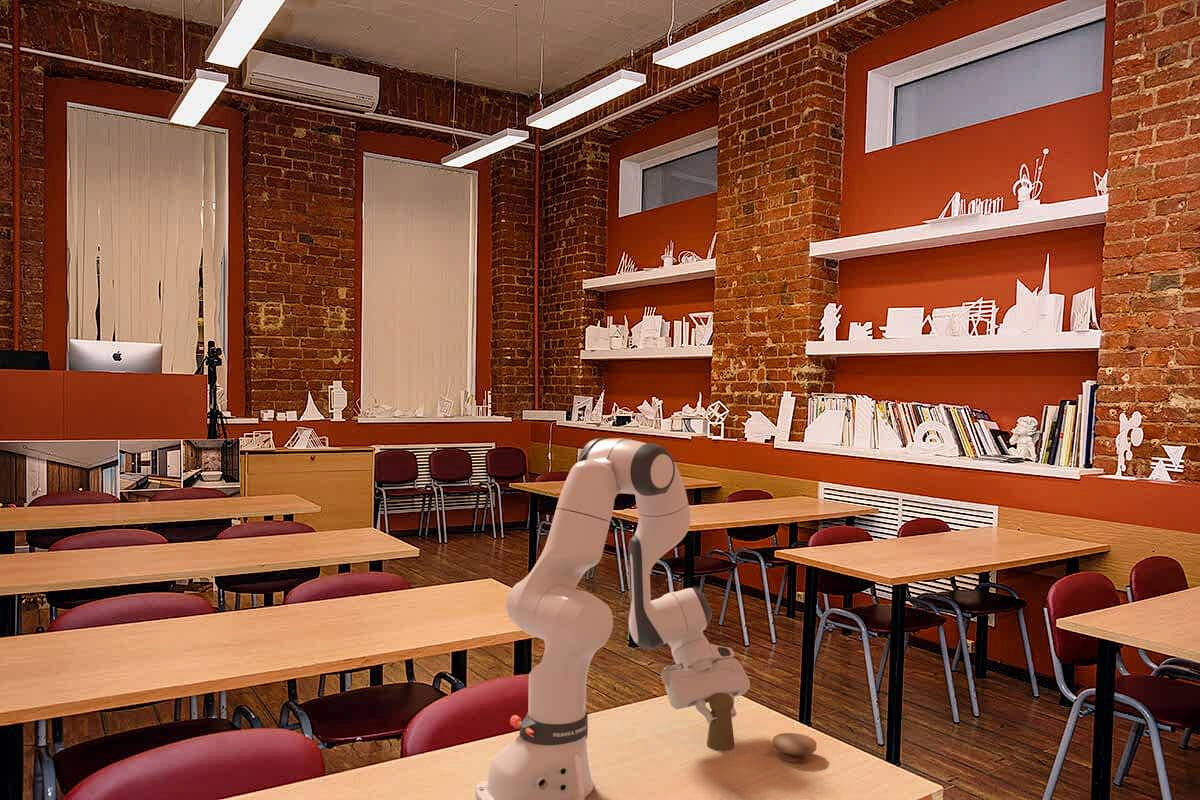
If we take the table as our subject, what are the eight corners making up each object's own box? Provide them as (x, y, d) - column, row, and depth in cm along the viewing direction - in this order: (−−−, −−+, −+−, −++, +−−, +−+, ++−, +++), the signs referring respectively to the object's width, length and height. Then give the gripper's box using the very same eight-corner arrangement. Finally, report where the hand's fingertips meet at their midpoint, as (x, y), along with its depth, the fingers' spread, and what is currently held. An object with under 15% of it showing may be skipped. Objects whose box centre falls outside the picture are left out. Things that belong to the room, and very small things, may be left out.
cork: (734, 752, 183) (734, 700, 183) (705, 749, 184) (706, 698, 184) (735, 740, 189) (736, 690, 189) (707, 738, 190) (708, 688, 190)
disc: (793, 769, 175) (793, 754, 175) (763, 752, 183) (763, 738, 183) (825, 759, 180) (825, 745, 180) (795, 744, 188) (795, 729, 187)
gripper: (663, 661, 187) (690, 721, 179) (737, 647, 197) (765, 703, 189) (652, 675, 191) (677, 734, 183) (725, 661, 201) (752, 717, 193)
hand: (722, 718), depth 186 cm, fingers closed on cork, 4 cm apart
